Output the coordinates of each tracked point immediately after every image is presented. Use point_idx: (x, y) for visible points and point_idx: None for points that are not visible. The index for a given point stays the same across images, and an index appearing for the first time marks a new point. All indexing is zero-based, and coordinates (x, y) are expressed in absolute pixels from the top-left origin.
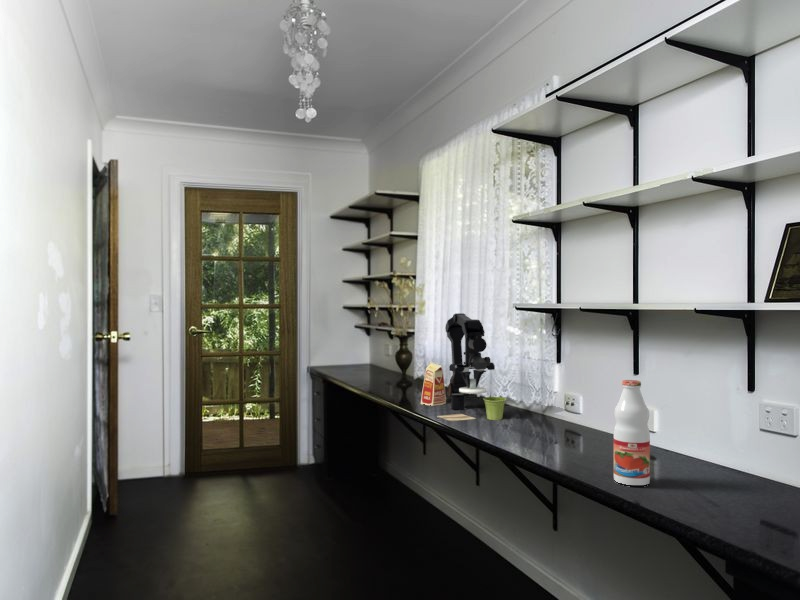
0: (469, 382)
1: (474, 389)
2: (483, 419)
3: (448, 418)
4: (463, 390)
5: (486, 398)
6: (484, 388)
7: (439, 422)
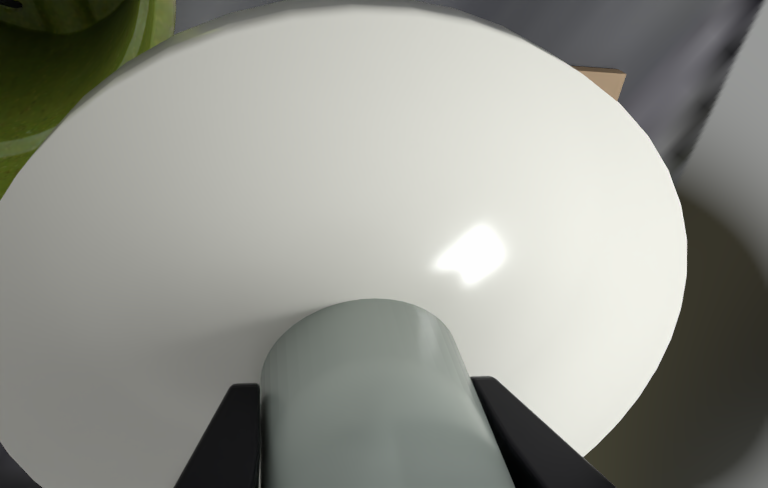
0: (561, 485)
1: (410, 251)
2: (181, 26)
3: None
4: (678, 283)
5: (4, 190)
6: (5, 278)
7: (679, 142)
